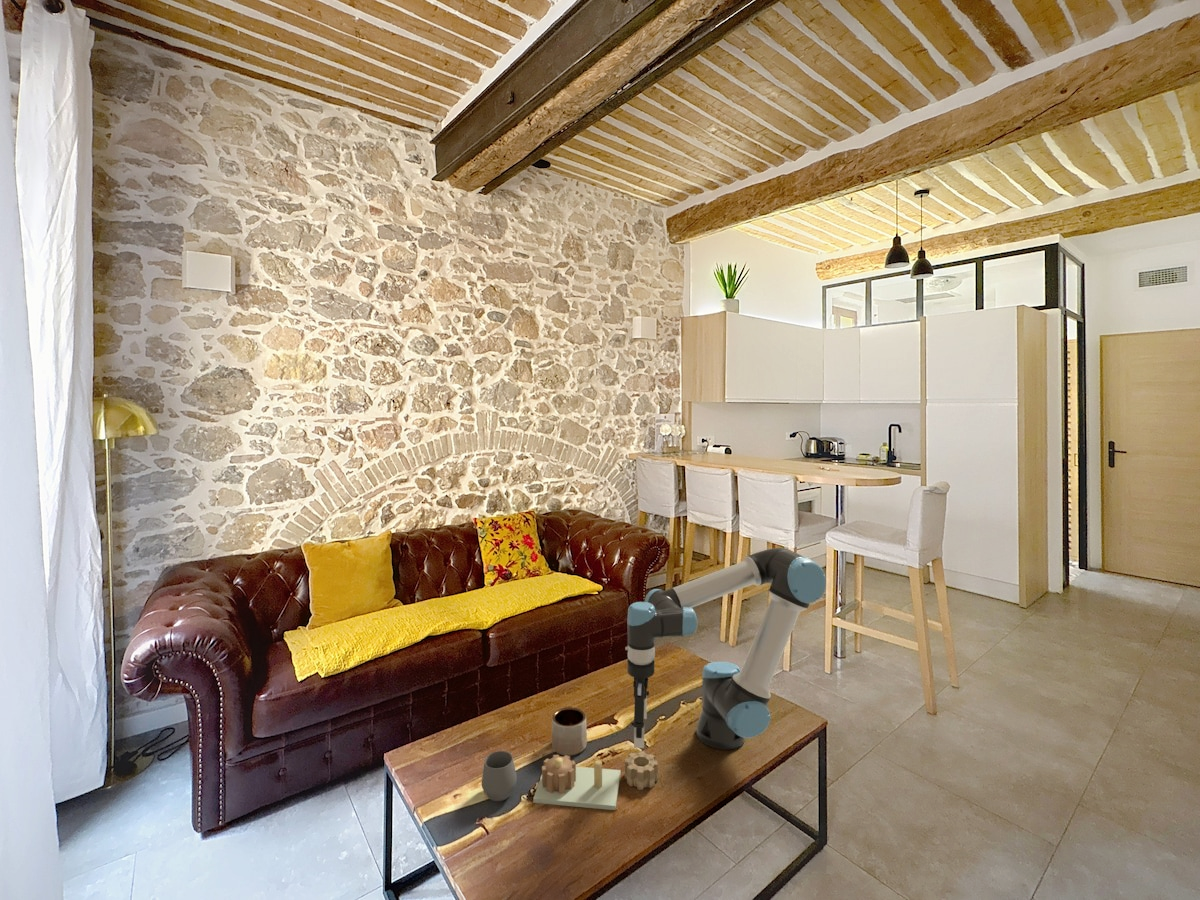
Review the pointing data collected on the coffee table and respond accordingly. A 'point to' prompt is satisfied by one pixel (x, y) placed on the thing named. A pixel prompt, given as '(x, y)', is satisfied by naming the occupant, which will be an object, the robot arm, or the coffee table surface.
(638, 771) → the beech gear
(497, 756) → the cup
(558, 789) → the gear board
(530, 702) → the coffee table surface
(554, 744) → the planter
